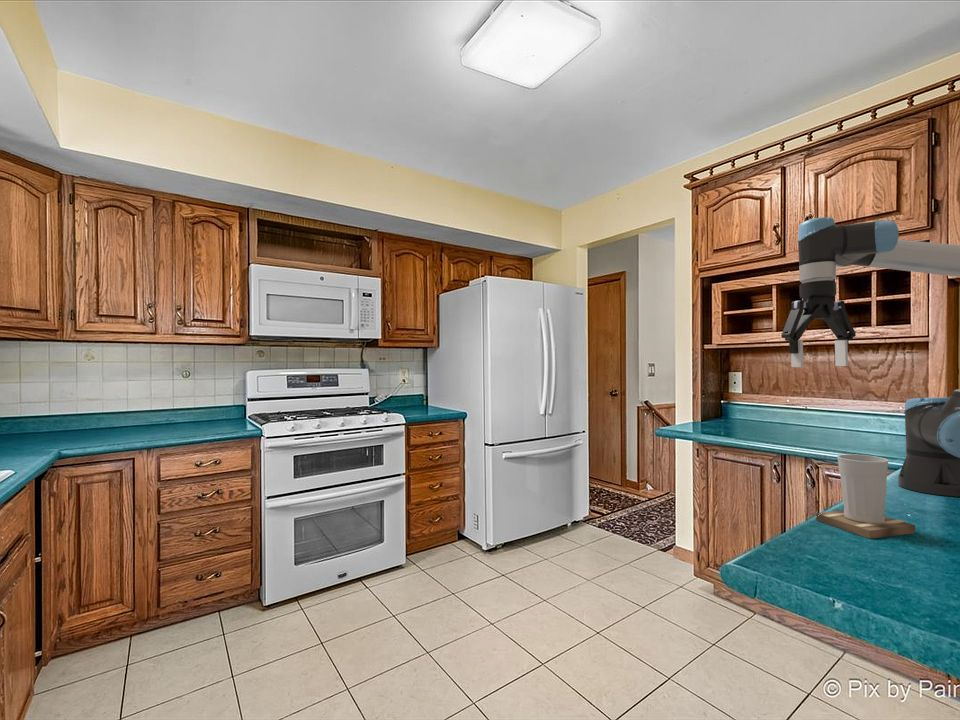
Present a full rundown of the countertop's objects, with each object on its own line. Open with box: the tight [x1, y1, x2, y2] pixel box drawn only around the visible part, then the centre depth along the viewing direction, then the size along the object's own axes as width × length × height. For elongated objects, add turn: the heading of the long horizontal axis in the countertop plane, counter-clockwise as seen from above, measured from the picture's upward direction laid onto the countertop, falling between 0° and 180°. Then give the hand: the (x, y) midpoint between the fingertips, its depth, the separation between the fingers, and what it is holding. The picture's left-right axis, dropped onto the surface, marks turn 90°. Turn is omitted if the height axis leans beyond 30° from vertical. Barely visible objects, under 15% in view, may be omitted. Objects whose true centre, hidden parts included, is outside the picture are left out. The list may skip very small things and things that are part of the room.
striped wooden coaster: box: [815, 509, 916, 540], centre depth 96 cm, size 11×11×2 cm
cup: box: [836, 453, 889, 523], centre depth 96 cm, size 8×8×12 cm
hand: (819, 366), depth 120 cm, fingers open, 13 cm apart
